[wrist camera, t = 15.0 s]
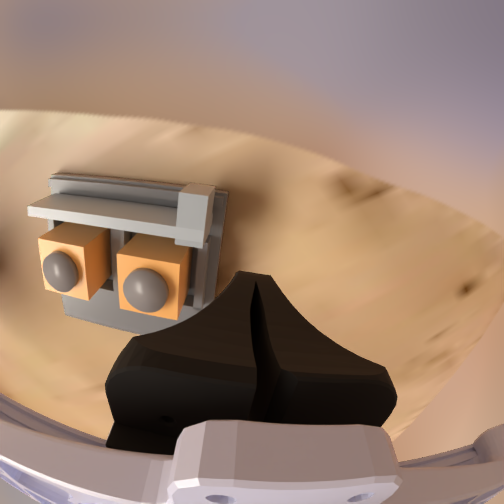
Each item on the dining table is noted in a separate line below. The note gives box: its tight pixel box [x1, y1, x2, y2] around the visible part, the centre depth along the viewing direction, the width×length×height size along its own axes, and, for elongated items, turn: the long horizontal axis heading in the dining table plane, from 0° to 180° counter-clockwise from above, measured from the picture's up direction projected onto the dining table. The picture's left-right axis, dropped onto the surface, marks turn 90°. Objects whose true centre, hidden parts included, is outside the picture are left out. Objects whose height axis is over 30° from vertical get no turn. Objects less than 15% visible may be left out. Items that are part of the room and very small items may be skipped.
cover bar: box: [27, 183, 216, 249], centre depth 17 cm, size 13×3×4 cm, turn 81°
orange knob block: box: [38, 222, 112, 301], centre depth 19 cm, size 4×4×5 cm
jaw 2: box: [117, 233, 193, 320], centre depth 19 cm, size 4×4×5 cm
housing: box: [48, 173, 229, 335], centre depth 21 cm, size 14×13×2 cm
